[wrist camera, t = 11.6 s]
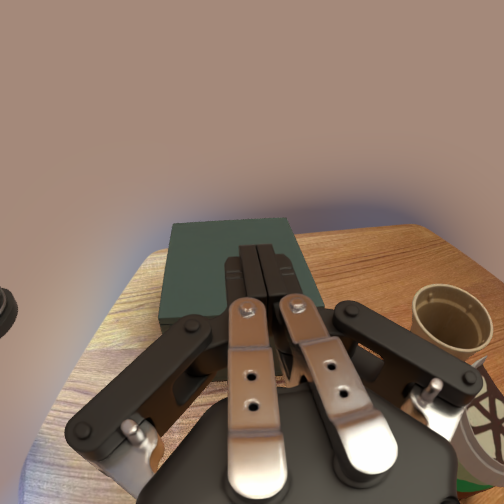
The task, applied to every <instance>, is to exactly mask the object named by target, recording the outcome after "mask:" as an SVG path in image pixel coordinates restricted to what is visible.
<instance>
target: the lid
mask: <svg viewBox="0 0 504 504" xmlns="http://www.w3.org/2000/svg"><path fill="white" fill-rule="evenodd" d="M252 244H255V245H256V244H272V245H273V248H274V252H275V254H285V255H286V256H287V257H288V258H289V259H290V260H291V262H292V265H293V269H294V270H295V273H296V276H297V278H298V281H299V284H300V286H301V289H302V292H303V295H305V296H307V297H309V298H310V299H311V300H312V301H313V302H314V304H315V306H316V307H320V308H324V307H325V305H324V303H323V300H322V298H321V296H320V293H319V291H318V289H317V286H316V284H315V282H314V279H313V277H312V275H311V272H310V270H309V268H308V265H307V263H306V261H305V259H304V256H303V254H302V252H301V250H300V247H299V245H298V243H297V241H296V238H295V236H294V234H293V232H292V230H291V227H290V225H289V223H288V221H287V218H264V219H245V220H244V219H243V220H224V221H207V222H190V223H176V224H173V226H172V231H171V237H170V243H169V248H168V254H167V260H166V266H165V273H164V279H163V286H162V293H161V300H160V307H159V315H158V320H159V323H160V324H174V323H175V322H176V321H177V320H179V319H180V318H181V317H183V316H186V315H189V314H199V315H202V316H204V317H206V318H207V319H211V318H214V317H216V316H218V315H220V314H221V313H223V312H224V311H225V309H226V308H227V300H226V289H225V270H224V263H225V262H226V260H227V258H228V257H234V256H239V245H252Z"/></svg>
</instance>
